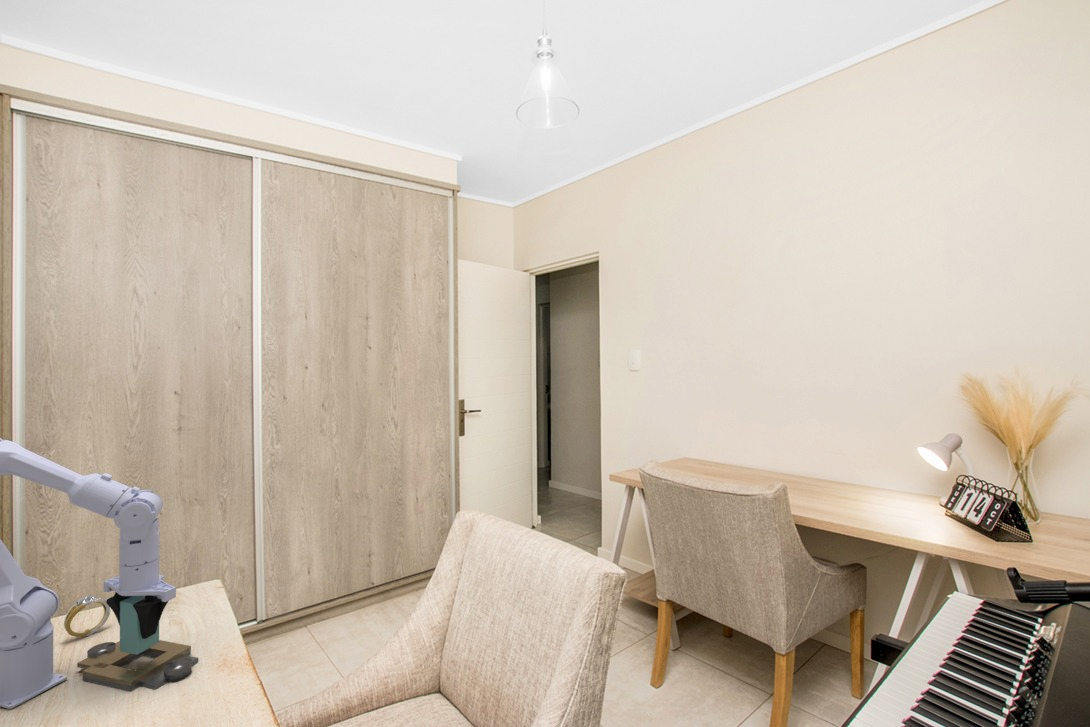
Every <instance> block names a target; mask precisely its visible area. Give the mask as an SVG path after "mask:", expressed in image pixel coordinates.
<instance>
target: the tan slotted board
mask: <svg viewBox="0 0 1090 727" xmlns="http://www.w3.org/2000/svg"><path fill="white" fill-rule="evenodd" d="M190 650H191V651H192V646H191V645H187V644H183V643H176V642H173V641H167V640H161V639H159V643H157V644H156V645H154V646H152V647H150V648H148V649H147V650H145V651H146V652H151V653H156V654H160V656H159V657H157V658H155V657H154V658H153V659H152V660H150V661H148V662H147V663H145V664H142V666H140V667H138V668H136V669H130V668H125V667H123V666H122V667H117V665H118V664H120V663H122V662H124V661H126V660H127V659H129V658H131V657H133V656H135V654H131V653H126V652H121V651H120V640H119V641H117V642H113V641H106V642H102V643H99V644H96V645H93V646H92V647H90V648H89V649H88V650H87V656H86V657H85V658H84V659H81V660H80V661H78V662H77V667H76V668H79V669H84V670H82V671H81V672H82V676H86V677H90V678H95V679H99V680H103V681H108V682H112V683H116V684H121V685H125V686H130V687H131V686H133V685H135V684H136V683H138V682H140V681H141V680H143V679H145V678H146V677H148V676H149V675H151V674H153V673H154V672H156V671H158V670H159V669H161V668H163V667H164V666H165V665H166V664H167V663H169V662H171V661H173V660H175V659H177V658H179V657H181V656H182V655H184V654H185V653H187V652H189V651H190ZM82 676H81V677H82Z"/></svg>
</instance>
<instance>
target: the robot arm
mask: <svg viewBox="0 0 1090 727" xmlns="http://www.w3.org/2000/svg"><path fill="white" fill-rule="evenodd" d="M8 475H10V476H11V475H12V476H15V477H18V478H22V479H25V480H28V481H30V482H34V483H37V484H39V485H42V486H45V487H47V488H51V489H54V490H58V491H59V492H62V493H66V494H67V496H68V499H69V502H70V504H73V505H75V506H77V507H80V508H82V509H84V510H87V511H89V512H92V513H94V514H98V515H100V516H102V517H105V518H108V519H113V522H114V524H115V526H116V527H117V528H118V529H119V542H118V543H119V544H118V545H119V549H118V550H119V551H118V553H119V555H118V556H119V557H118V558H119V561H118V562H119V564H118V568H119V569H118V576H114V577H111V578H109V579H107V580H104V581H103V592H104V593H109V592H114V594H113V596H111V597H109V598H107V599H106V600H105V601H106V603H107V605H108V606H109V607H110V610H112V612H113V613H114V614H113V615H115V617H116V620H117V622H118V625H119V627H120V602H121V601H123V600H125V599H127V598H130V597H132V596H145V599H143V600H141V601H139V602H137V603H134V604H133V607H134V609H135V610H136V612H137V615H138V618H139V622H140V632H141V636H142V638H143V639H146V638H148V637H150V636H152V635H154V634H155V633H156V631H157V627H158V624H159V625H160V620H161V617H162V614H163V612H164V610H165V608H166V607H167V605H168V603H169V601H171V600H174V599H175V598H176V597H177V587H176V586H175V585H171V584H169V583H167V582H166V581H164V580H165V575H163V574H160V529H159V528H160V521H159V517H158V516H159V515H160V514H161V511H162V510H163V506H164V505H163V504H164V503H163V500H162V497H161V496H160V495H159V494H157V492H154V491H153V490H152V489H143V490H140V489H141V488H140V487H137V486H133V487H131V486H129V485H126V484H123V483H121V482H119V481H116V480H115V479H114V480H113V479H112V478H113V475H111V474H109V473H107V472H105V473H103V474H100V473H97V472H96V473H90V474H86V475H82V474H80V473H77V472H75V471H73V470H71V469H70V468H67V467H65V466H63V465H62V464H59V463H56V462H54V461H52V460H50V459H48V458H46V457H44V456H41V455H39V454H37V453H35V452H33V451H31V450H28V449H27V448H25V447H23V446H21V445H19V443H17V442H15V441H11V440H8V439H3V438H1V437H0V476H8ZM59 606H60V597H59V595H58V594H57V592H55V591H54V590H52V589H50V588H48V587H46V586H44V585H43V584H42V583H41V581H40V580H39V578H36V577H33V576H29V575H26V574H25V573H24V571H23V570H22V569H21V567H20V566H19V564H18V562H17V561H16V560H15V558H14V556H13V555H12V553H11V552H10V551H9V549H8V548H7V546H6V545H5V543H4V542H3V540H2V539H1V538H0V707H2V708H6V709H8V710H9V709H10V710H11V709H14V708H15V707H17V706H19V705H21V704H23V703H25V702H27V701H28V700H30V699H32V698H35V697H37V696H39V695H40V694H41V693H43V692H45V691H48V690H49V689H51V688H53V687H55V686H57V685H59V684H60V683H62V682H64V681H65V680H67V679H68V676H67V675H64V674H60V673H55V672H54V625H53V623H52V621H51V619H52V617H53V615H54V614H55V613H56V612H57V611H58V610H59Z"/></svg>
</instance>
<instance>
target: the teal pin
mask: <svg viewBox="0 0 1090 727" xmlns="http://www.w3.org/2000/svg"><path fill="white" fill-rule="evenodd" d="M143 599H145V596H132V597H130V598H127V599H125V600H123V601H121V602H120V626H119V641H120V651H121V652H126V653H131V654H135V655H138V654H139V653H141V652H143V651H145V650H147V649H148V648H150V647H152V646H154V645H156V644H157V643H159V640H160V623H159V624H158V627H157V631H156V633H155V634H154V635H152V636H150V637H148V638H146V639H143V638H142V636H141V632H140V622H139V618H138V615H137V612H136V610H135V609H134V607H133V604H134V603H137V602H139V601H141V600H143Z"/></svg>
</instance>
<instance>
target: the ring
mask: <svg viewBox="0 0 1090 727" xmlns="http://www.w3.org/2000/svg"><path fill="white" fill-rule="evenodd" d="M106 601H107V600H106V599H104V598H97V594H94V596H92V595H91V596H89V594H87V595H85V596H82V597H81V598H80V599H79V600H78V601H77V600H76V601H75V603H74V604H73V605H72V606H71V607H70V608H69V610H68V611H67V612H66V614H65V617H64V621H63V627H64V630H65V631H66V632H67V634H68V635H70V636H72V637H76V638H81V637H89V636H91V635H92V634H94V633H96V632H97V631H99V630H100V629H101V628H103V626H104V625H105V624H106V622H107V621H108V619H109V617H110V613H111V608H110V607H109V606H108V605H107V603H106ZM93 603H94V604H98V605H101V606H102V608H103V616H102V618H101V620H100V621H99V623H98V624H97V625H96V626H94V627H92V628H91V629H89V628H88V629H85V630H84V631H80V632H79V631H78V632H77V631H74V630H72V627H71V623H72V621H73V619H74V617H75V616H76V615H77V614H79V612H81V611H82V610H83V609H85V608H86V606H89V605H90V604H93Z"/></svg>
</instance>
